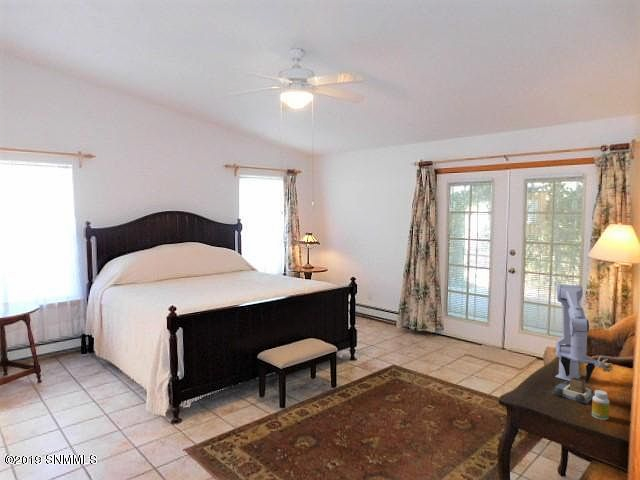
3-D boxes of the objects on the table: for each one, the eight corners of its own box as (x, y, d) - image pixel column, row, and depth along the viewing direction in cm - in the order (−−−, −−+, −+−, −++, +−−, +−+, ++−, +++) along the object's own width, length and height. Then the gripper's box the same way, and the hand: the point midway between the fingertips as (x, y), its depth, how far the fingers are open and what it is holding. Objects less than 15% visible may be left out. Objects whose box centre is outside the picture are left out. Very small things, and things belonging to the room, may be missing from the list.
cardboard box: (573, 390, 181) (573, 377, 181) (584, 393, 178) (585, 380, 178) (569, 393, 178) (569, 379, 178) (581, 396, 175) (581, 382, 175)
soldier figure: (616, 369, 211) (612, 368, 202) (607, 374, 213) (603, 373, 204) (604, 355, 216) (600, 353, 207) (596, 360, 217) (591, 359, 209)
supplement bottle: (602, 421, 157) (603, 396, 156) (588, 415, 162) (589, 390, 161) (611, 418, 159) (612, 393, 159) (597, 412, 164) (598, 388, 164)
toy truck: (561, 386, 188) (561, 379, 188) (595, 396, 178) (595, 388, 178) (551, 394, 180) (551, 387, 180) (585, 404, 171) (585, 397, 170)
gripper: (556, 344, 180) (555, 375, 181) (595, 353, 169) (594, 385, 170) (562, 341, 184) (561, 371, 185) (600, 349, 173) (599, 381, 174)
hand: (577, 378), depth 178 cm, fingers open, 7 cm apart
